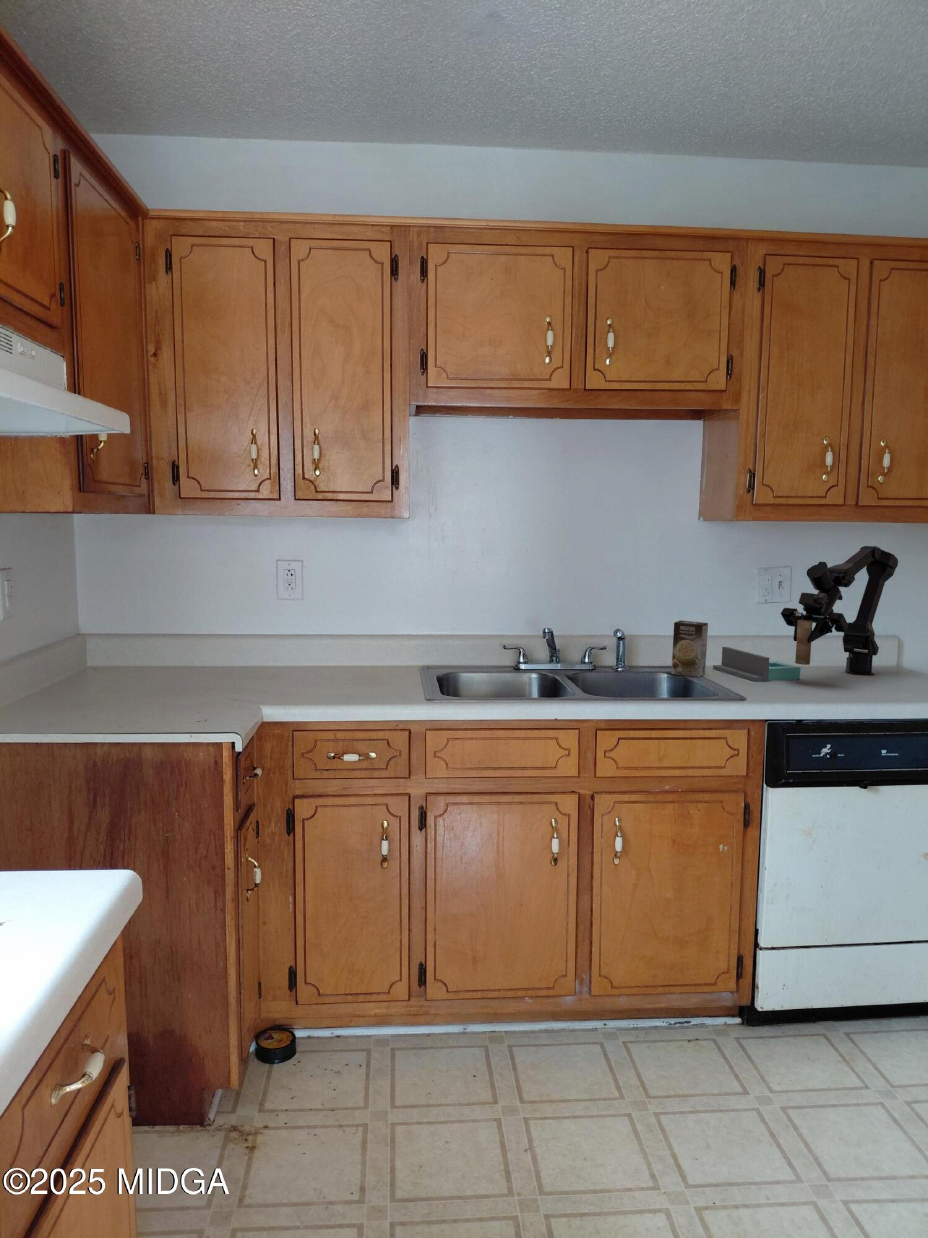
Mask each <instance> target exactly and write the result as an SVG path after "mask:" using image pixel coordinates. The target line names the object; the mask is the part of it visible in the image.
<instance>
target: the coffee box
mask: <svg viewBox="0 0 928 1238" xmlns="http://www.w3.org/2000/svg"><path fill="white" fill-rule="evenodd" d="M708 630H709V622H702V621H701V622H700V621H689V620H681V619H680V620H678V621H675V622H674V623H673V637H672V656H671V672H670V674H671V675H678V676H687V677H694V678H695V677H696V678H700V676H701V677H703V676H704V675H706V664H707V663H706V662H707V649H708V648H707V645H708ZM702 675H703V676H702Z"/></svg>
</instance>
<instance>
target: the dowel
mask: <svg viewBox="0 0 928 1238" xmlns="http://www.w3.org/2000/svg"><path fill="white" fill-rule="evenodd" d="M813 624H814V623H813V621H810V620H798V625H797V641H795V642H796V644H795V658H794V659H795V661H794V663H795V664H797V665H801V666H802V665H804V666H805V665H806V666H808V665H809V666H810V665H811V655H812V653H811V651H812V642H811V643H808V642H807V640H808V638H809V636H810V634H811V632H812V630H813Z"/></svg>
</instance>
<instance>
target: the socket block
mask: <svg viewBox="0 0 928 1238" xmlns="http://www.w3.org/2000/svg"><path fill="white" fill-rule="evenodd" d="M793 679H799V680H800V679H801V667H800V666H796V665H792V664H788V663H786V662H785V663H784V662H782V661H769V674H768V681H767V682H774V681H773V680H777V681H794V680H793Z"/></svg>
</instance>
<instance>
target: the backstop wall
mask: <svg viewBox="0 0 928 1238" xmlns="http://www.w3.org/2000/svg"><path fill="white" fill-rule="evenodd" d="M721 650H722V651H721V664H713V665H712V669H713V670H715V671H718V670H719V671H718V672H721V671H722V673H725V674H728V675H732V676H735V677H737V678H738V677H739V678H742V679H745V680H747V681H751V682H755V681H756V682H757V681H760V682H769V681H768V674H769V662H770V657H768V656H765V655H761V654H758V653H753V652H748V651H744V650H740V649H737V648H734V647H729V646H722V649H721ZM756 682H755V683H756Z"/></svg>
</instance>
